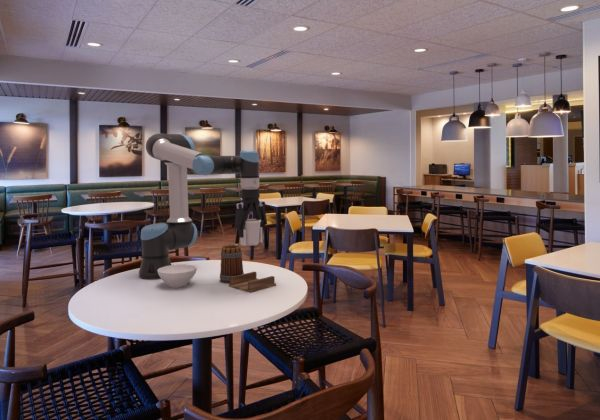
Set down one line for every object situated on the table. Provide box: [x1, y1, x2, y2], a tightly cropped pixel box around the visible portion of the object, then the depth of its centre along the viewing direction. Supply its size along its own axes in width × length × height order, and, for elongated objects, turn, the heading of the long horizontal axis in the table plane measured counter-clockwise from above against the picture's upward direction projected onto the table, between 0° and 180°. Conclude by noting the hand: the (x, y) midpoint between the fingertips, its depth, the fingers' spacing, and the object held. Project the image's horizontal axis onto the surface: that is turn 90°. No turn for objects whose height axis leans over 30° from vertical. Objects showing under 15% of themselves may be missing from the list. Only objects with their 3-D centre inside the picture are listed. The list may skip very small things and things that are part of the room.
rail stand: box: [228, 271, 277, 293], centre depth 183 cm, size 14×14×4 cm
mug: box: [219, 243, 245, 284], centre depth 194 cm, size 16×11×15 cm
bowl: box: [157, 263, 197, 288], centre depth 186 cm, size 16×16×7 cm
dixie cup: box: [244, 218, 261, 247], centre depth 181 cm, size 8×8×10 cm
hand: (251, 243), depth 181 cm, fingers closed on dixie cup, 8 cm apart
